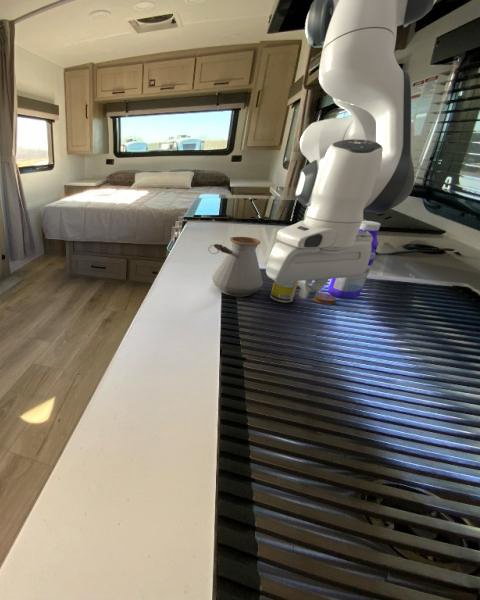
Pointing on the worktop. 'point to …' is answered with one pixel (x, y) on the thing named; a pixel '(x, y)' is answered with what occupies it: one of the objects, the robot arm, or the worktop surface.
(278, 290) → the supplement bottle
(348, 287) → the bottle
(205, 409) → the worktop surface
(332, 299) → the wooden spoon
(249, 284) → the coffee pot
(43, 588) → the worktop surface
